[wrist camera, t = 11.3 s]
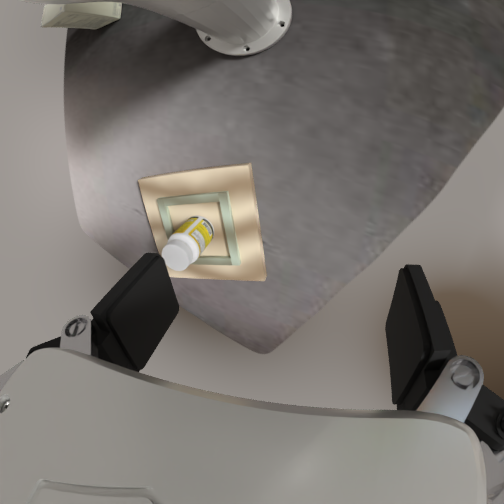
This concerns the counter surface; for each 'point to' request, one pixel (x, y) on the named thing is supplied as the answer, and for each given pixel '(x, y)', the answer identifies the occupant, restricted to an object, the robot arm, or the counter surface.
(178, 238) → the supplement bottle
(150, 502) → the robot arm
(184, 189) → the board
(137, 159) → the counter surface
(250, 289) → the counter surface
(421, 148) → the counter surface
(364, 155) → the counter surface
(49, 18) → the skincare box
